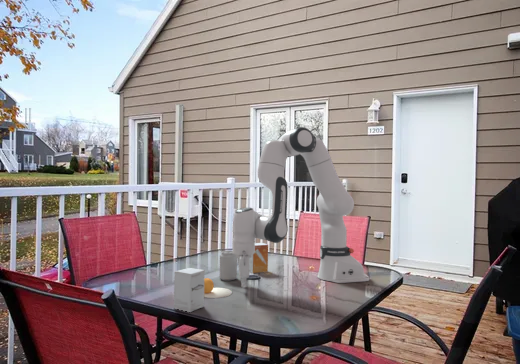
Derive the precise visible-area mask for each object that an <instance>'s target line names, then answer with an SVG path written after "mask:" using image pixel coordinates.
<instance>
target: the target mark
mask: <svg viewBox="0 0 520 364" xmlns="http://www.w3.org/2000/svg"><path fill="white" fill-rule="evenodd" d="M232 294H233V292H232V290H231V289H229V288H225V287H214V288H213V290H212V291H211V292H210V293H204V298H206V299H207V298H208V299H220V298H226V297H228V296H231V295H232Z"/></svg>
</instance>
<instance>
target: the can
mask: <svg viewBox="0 0 520 364" xmlns="http://www.w3.org/2000/svg"><path fill="white" fill-rule="evenodd" d="M237 269H238V259H237V258H236V254H233V250H224V251H221V252H220V254H219V278H220V279H221V281H224V282H225V281H226V282H227V281H229V282H230V281H234V280H235V279H236V278H237V277H238V275H237V274H238V270H237Z"/></svg>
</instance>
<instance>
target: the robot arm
mask: <svg viewBox="0 0 520 364" xmlns="http://www.w3.org/2000/svg"><path fill="white" fill-rule="evenodd" d="M314 135H315V134H313V132H312V131H311V130H310V129H308V128H307V127H305V126H304V127H303V126H298V127H296V128H293V129H290V130H287V131H286V132H285V133H283V134H281V135H280V136H279V137H278V138H277V139H272V140H271V139H270V140H268V141H267V142H265V143H264V146H263V148H262V151H261V154H260V157H259V161H258V166H257V178H258V180H259V182H260V183H261V184H262V185H263V186H265V188H268V189H269V191H271V194H272V207H271V208H272V209H271V215H270V216H269V215H262V214H260V213H259V212H256V211H255V210H254V208H252V207H242V208H238V209H237V210H235V211H234V213H233V219H232V232H233V233H232V234H233V239H232V251H233V254H236V258H237V268H238V272H239V273H238V275H239V278H240V281H241V284H240V286H241V289H242V288H247V280H248V279H249V278H250V272H249V258H251V257H252V256H251V255H252V254H254V253H255V243H256V239H259V240H263V241H268V242H270V243H272V244H273V243H274V244H279V243H281V242H282V241H283V240H284V239H285V238H286V236H287V235H288V231H289V228H288V221H287V219H288V217H287V215H288V212H287V211H288V193H289V192H288V190H289V189H288V182H287V180H286V178H285V169H286V168H285V167H286V163H287V162H286V161H287V159H288V158H291V157H296V156H299V155H300V156H301V157H302V158H303V160H304V161H305V165H306V167H307V169H308V172H309V175H310V178H311V180H312V183H313V184H314V186H315V187H316V188H317V190H318V191H319V194H318V195H317V197H316V207H317V208H318V214H319V220H320V227H321V228H320V229H321V235H320V236H321V245H320V248H319V257H320V261H319V264H320V265H319V269H318V273H317V278H318V279H320V280H324V281H326V282H327V281H328V282H333V283H336V284H337V283H338V284H345V283H346V284H347V283H359V282H369V281H370V277H369V276H368V275H367V274H366V273H365V270H364V266H363V264H362V263H361V262H360V261H358V260H357V259H356V258H355V257H354V256H353V255H351V254H354V248H351V247H348V246H347V239H348V238H347V237H348V235H347V230H348V229H347V226H346V225H345V222H344V217H345V216H347V215H349V214H351V213H352V212H353V210H354V208H355V201H354V198H353V197H352V196H351V194H350V193H349V192H348V191H347V189H346V187H345V185H344V184H343V182H342V181H341V179H340V177H339V175H338V173H337V171H336V168H335V166H334V162H333V161H332V157H331V155H330V153H329V152H330V151H328V149H327V146H326V145H325V143H324V142H323V140H322V139H320V138H318V137H315V136H314Z"/></svg>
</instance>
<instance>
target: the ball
mask: <svg viewBox="0 0 520 364" xmlns="http://www.w3.org/2000/svg"><path fill="white" fill-rule="evenodd" d="M214 286H215V284H214V282H213V280H212V279H211V278H208V277H206V278H205V277H204V293H210V292H211V291H212V290H213V288H215V287H214Z"/></svg>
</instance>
